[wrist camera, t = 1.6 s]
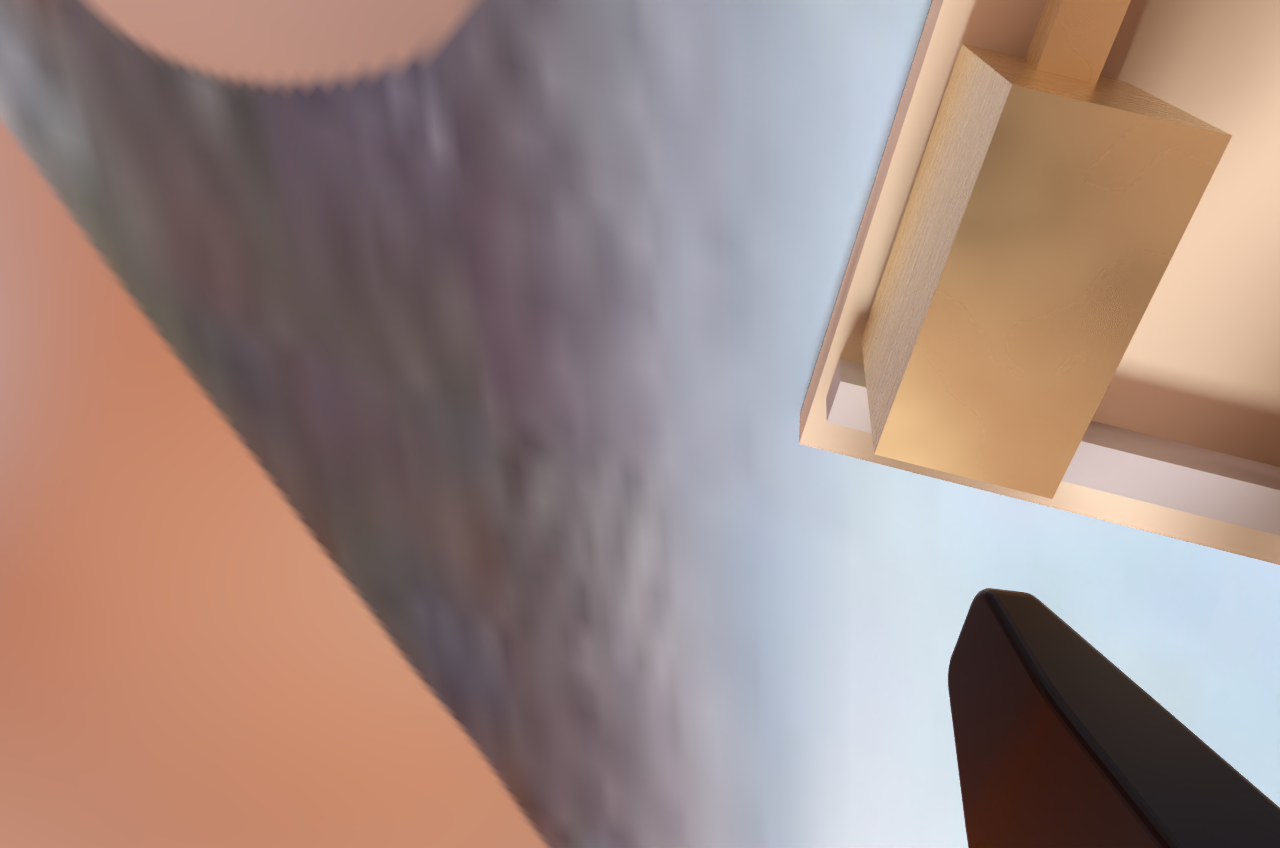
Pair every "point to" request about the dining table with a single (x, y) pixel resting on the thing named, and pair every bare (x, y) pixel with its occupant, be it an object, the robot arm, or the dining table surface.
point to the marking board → (1180, 308)
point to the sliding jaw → (1028, 253)
